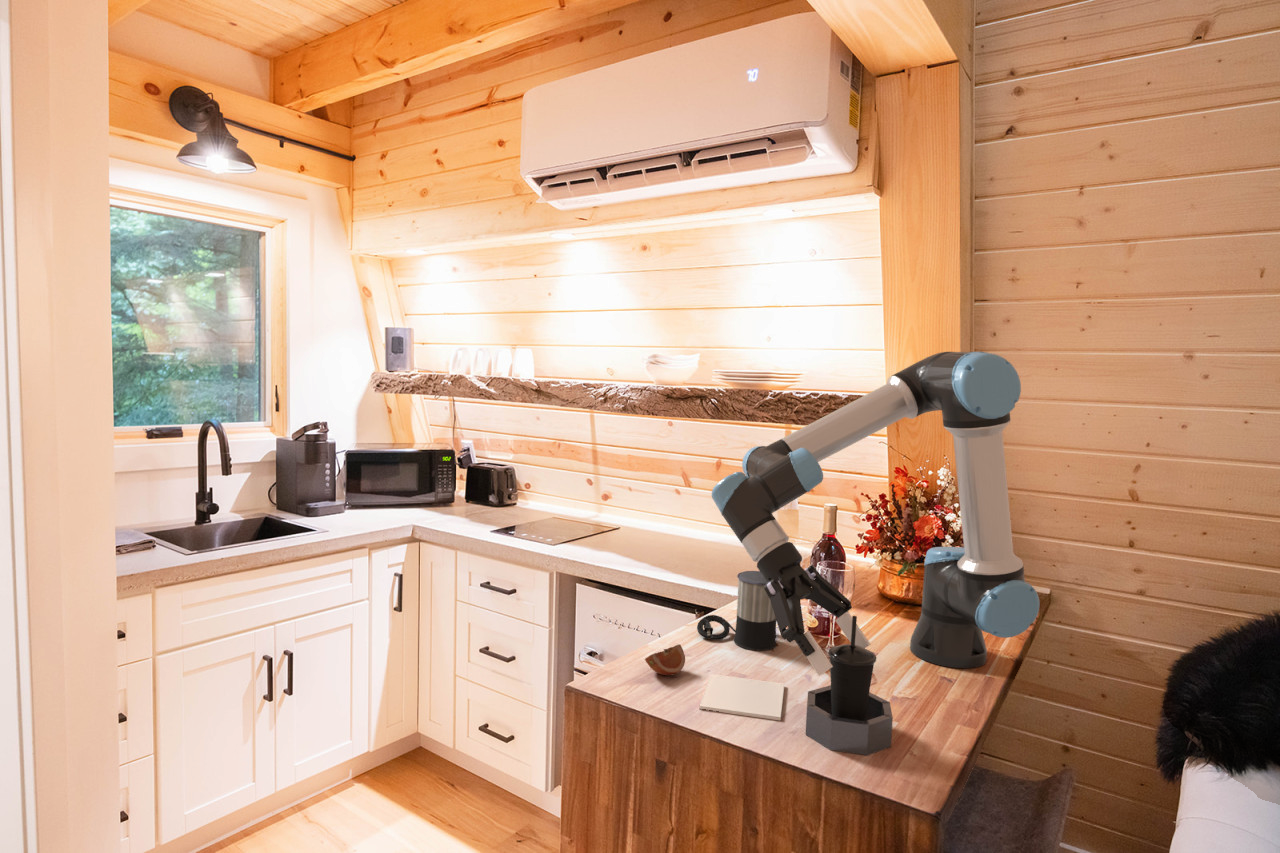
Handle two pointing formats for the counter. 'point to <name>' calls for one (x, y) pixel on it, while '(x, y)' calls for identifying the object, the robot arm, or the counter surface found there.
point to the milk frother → (747, 616)
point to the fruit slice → (667, 660)
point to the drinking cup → (850, 678)
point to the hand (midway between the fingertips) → (846, 659)
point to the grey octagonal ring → (848, 725)
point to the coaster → (743, 697)
